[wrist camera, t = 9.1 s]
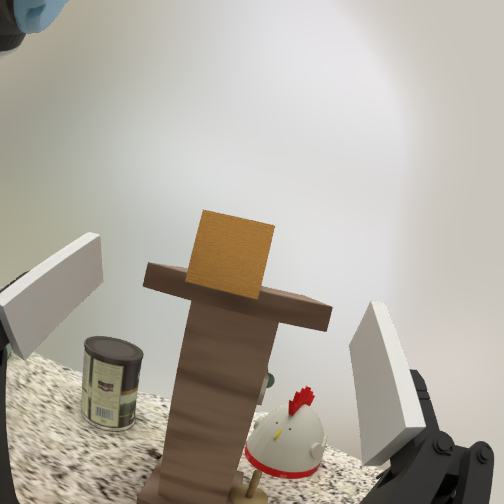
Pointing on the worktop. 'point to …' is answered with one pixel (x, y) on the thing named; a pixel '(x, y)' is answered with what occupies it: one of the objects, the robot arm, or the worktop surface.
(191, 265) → the long square bar
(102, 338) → the coffee can
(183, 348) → the stand
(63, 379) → the worktop surface
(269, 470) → the kitchen timer
